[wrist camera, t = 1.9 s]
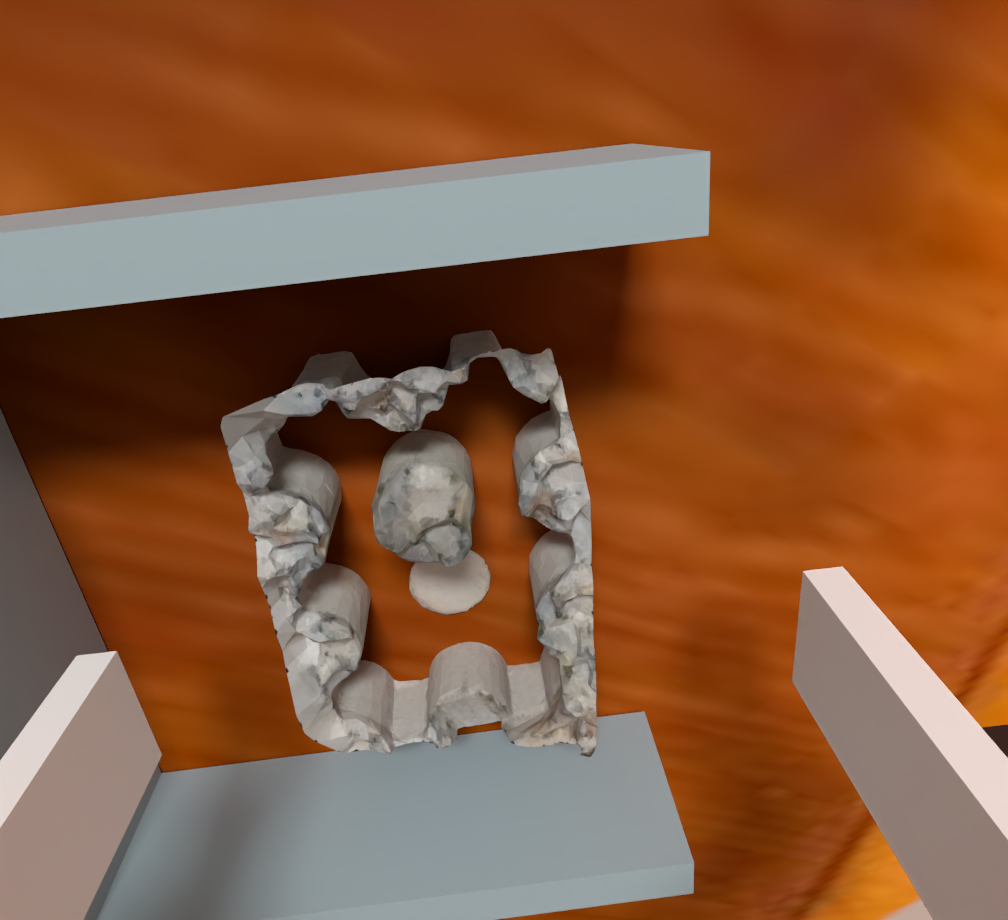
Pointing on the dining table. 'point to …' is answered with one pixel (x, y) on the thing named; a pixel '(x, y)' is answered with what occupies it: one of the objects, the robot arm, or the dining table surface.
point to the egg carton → (421, 557)
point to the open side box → (361, 774)
